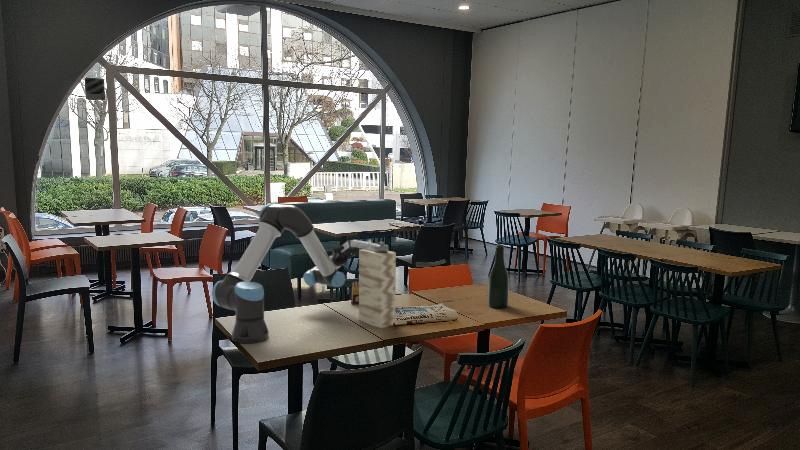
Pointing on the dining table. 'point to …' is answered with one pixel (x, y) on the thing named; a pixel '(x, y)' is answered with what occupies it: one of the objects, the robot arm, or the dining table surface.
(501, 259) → the beer bottle
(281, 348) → the dining table surface
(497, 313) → the dining table surface
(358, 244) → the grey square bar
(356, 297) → the ammunition clip
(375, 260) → the stand
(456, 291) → the dining table surface
